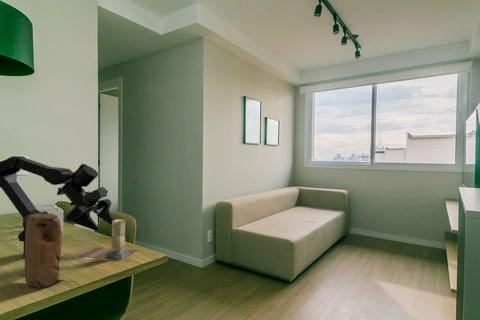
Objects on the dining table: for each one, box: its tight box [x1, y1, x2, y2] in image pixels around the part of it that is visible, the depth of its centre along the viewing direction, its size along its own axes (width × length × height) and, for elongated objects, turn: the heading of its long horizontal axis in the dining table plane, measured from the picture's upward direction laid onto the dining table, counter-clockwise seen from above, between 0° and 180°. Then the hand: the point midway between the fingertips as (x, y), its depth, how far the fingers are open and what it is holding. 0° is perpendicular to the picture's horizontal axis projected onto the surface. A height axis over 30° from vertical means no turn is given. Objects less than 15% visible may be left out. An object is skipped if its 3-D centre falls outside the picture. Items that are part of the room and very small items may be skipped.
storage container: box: [33, 202, 64, 234], centre depth 137 cm, size 25×11×11 cm, turn 43°
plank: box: [68, 246, 138, 263], centre depth 102 cm, size 20×12×2 cm, turn 84°
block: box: [24, 213, 63, 289], centre depth 82 cm, size 11×8×20 cm
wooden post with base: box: [105, 218, 131, 260], centre depth 100 cm, size 6×6×13 cm
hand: (105, 226), depth 100 cm, fingers open, 9 cm apart
